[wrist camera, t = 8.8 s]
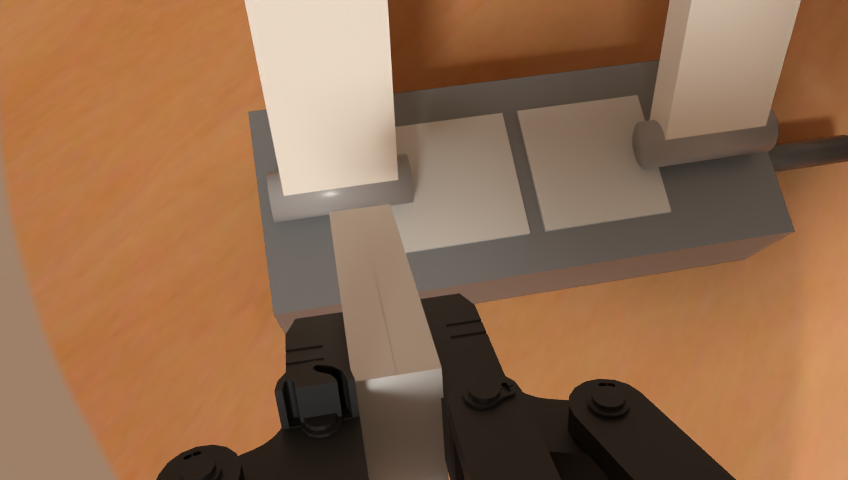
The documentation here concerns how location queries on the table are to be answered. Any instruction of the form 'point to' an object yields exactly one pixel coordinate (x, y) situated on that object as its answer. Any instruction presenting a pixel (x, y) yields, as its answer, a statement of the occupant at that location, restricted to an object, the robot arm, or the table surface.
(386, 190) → the orange-capped paddle
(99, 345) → the table surface
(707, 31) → the grey-capped paddle
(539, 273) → the power strip
